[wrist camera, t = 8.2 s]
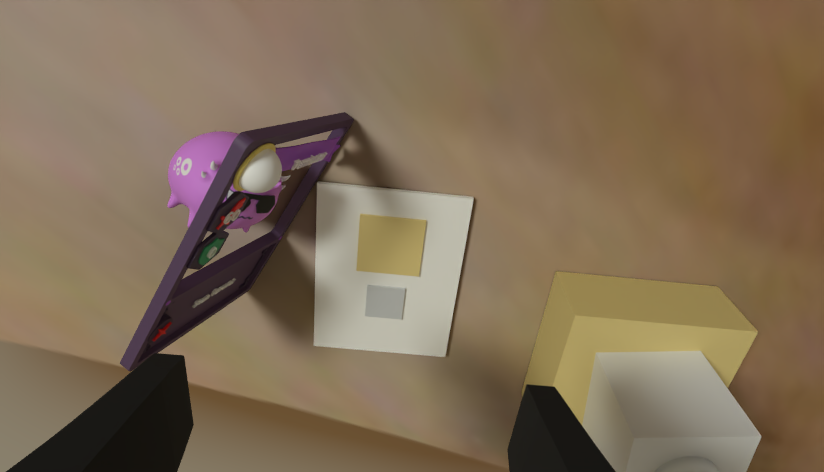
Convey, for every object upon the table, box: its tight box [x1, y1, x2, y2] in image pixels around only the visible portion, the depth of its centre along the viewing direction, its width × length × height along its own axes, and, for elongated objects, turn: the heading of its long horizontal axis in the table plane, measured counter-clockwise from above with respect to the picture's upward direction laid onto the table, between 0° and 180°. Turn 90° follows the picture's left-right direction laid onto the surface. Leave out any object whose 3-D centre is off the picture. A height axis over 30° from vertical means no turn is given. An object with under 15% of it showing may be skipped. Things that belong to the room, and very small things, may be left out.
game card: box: [120, 112, 354, 371], centre depth 18 cm, size 7×5×9 cm
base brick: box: [521, 271, 758, 425], centre depth 22 cm, size 7×7×3 cm
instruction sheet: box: [314, 181, 474, 357], centre depth 22 cm, size 6×8×1 cm
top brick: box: [582, 351, 762, 472], centre depth 19 cm, size 4×4×5 cm
